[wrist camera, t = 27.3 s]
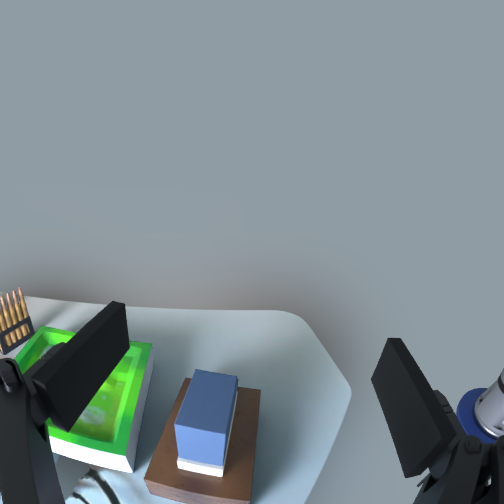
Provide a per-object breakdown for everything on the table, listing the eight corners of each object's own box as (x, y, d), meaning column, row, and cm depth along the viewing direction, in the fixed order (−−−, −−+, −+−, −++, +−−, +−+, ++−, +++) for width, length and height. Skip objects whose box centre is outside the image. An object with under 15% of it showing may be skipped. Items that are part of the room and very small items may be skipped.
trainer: (236, 399, 37) (242, 354, 35) (222, 477, 24) (226, 438, 21) (202, 393, 37) (203, 347, 35) (178, 468, 24) (171, 427, 21)
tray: (154, 363, 49) (152, 343, 47) (132, 472, 25) (125, 456, 24) (47, 345, 45) (41, 325, 43) (-6, 425, 21) (-19, 404, 20)
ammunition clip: (4, 355, 36) (-13, 304, 33) (0, 352, 37) (-16, 301, 33) (35, 334, 47) (24, 286, 43) (31, 332, 47) (20, 284, 44)
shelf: (256, 409, 41) (260, 389, 40) (245, 513, 22) (250, 501, 21) (186, 397, 42) (185, 377, 40) (150, 493, 23) (143, 479, 21)
